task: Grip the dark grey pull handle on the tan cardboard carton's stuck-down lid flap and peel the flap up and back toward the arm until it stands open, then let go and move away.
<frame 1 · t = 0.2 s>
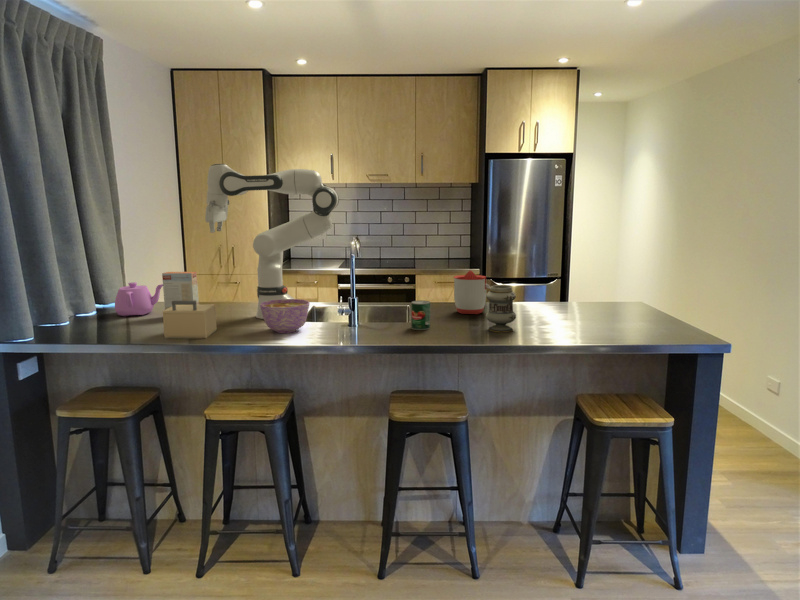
hand: (215, 231, 261), 39 cm above the countertop, tool pointing down, fingers open, 8 cm apart
canned tomato: (420, 328, 242), on the countertop
apothecary jar: (500, 330, 238), on the countertop
citrus juicer: (471, 312, 275), on the countertop
bowl of food: (286, 331, 238), on the countertop
carton: (191, 334, 233), on the countertop
cracker box: (182, 317, 267), on the countertop
carton flap: (189, 303, 231), point 12 cm above the countertop, hinge at 0.0°
teapot: (136, 314, 276), on the countertop
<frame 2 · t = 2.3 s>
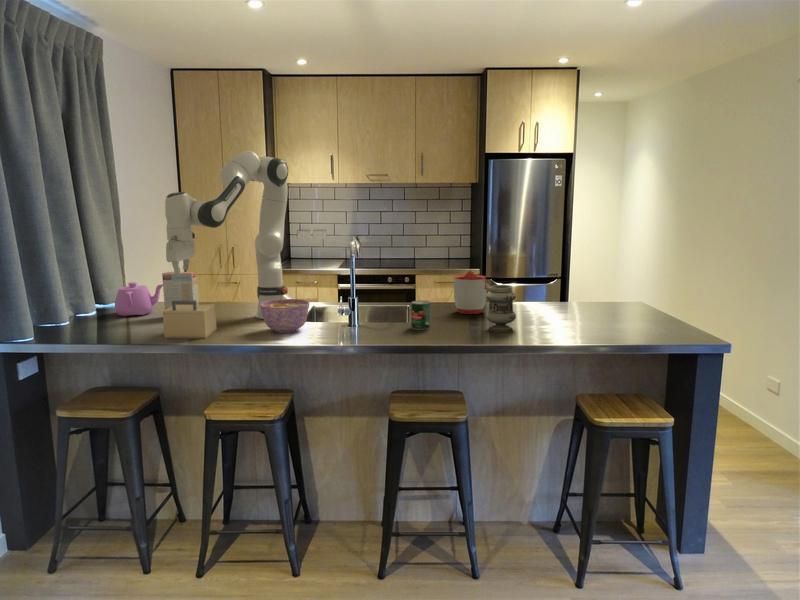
hand: (181, 271, 223), 26 cm above the countertop, tool pointing down, fingers open, 8 cm apart
nothing on the countertop moved.
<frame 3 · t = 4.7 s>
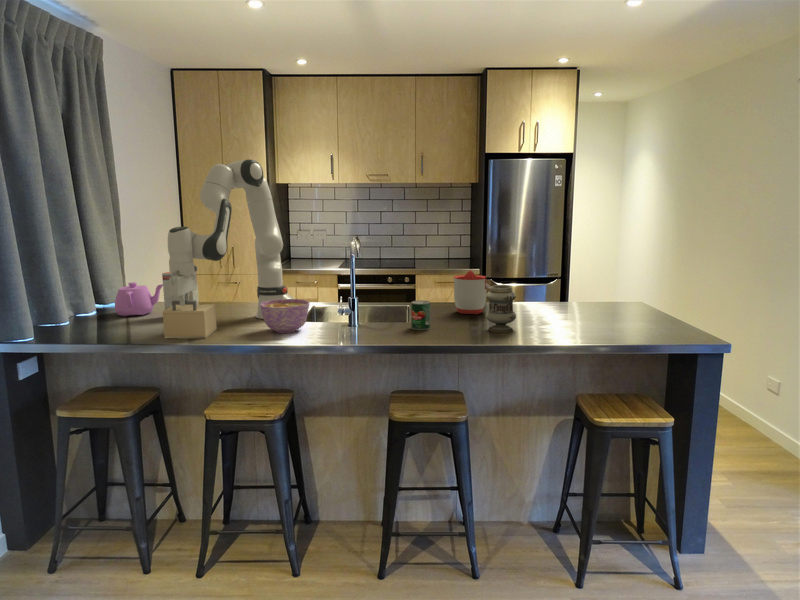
hand: (184, 304, 225), 13 cm above the countertop, tool pointing down, fingers closed on carton flap, 2 cm apart
carton flap: (189, 303, 231), point 12 cm above the countertop, hinge at 0.0°, touching gripper
everything else where it was.
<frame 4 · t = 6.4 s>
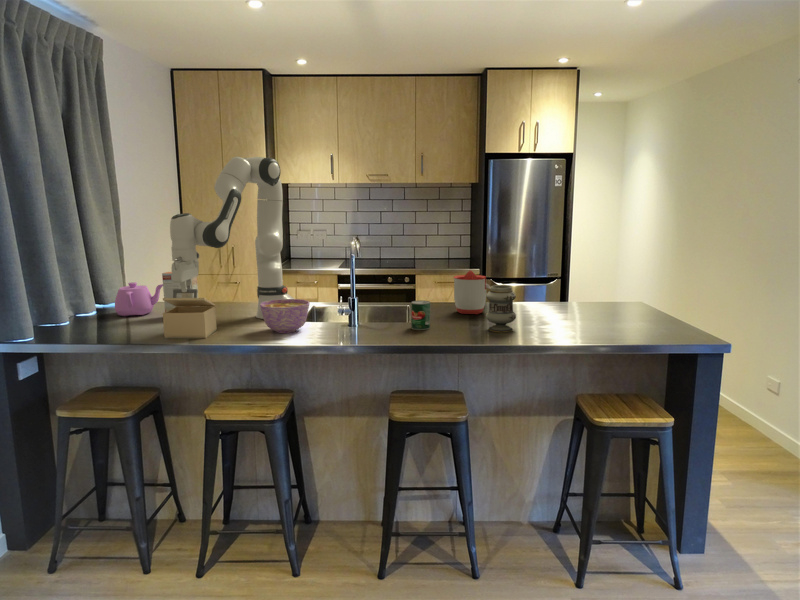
hand: (186, 291, 228), 18 cm above the countertop, tool pointing down, fingers open, 3 cm apart
carton flap: (190, 297, 232), point 15 cm above the countertop, hinge at 20.7°, touching gripper
everything else where it was.
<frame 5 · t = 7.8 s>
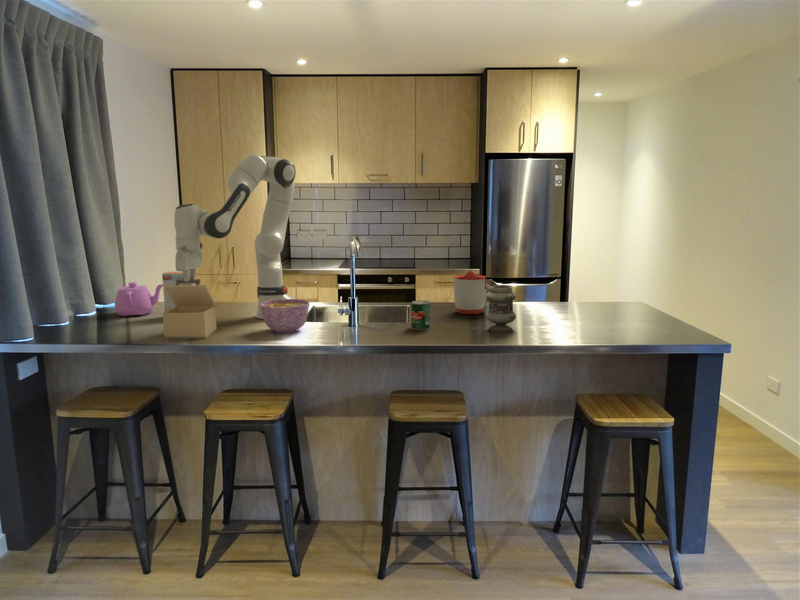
hand: (189, 280, 231), 22 cm above the countertop, tool pointing down, fingers open, 4 cm apart
carton flap: (191, 292, 234), point 17 cm above the countertop, hinge at 43.2°, touching gripper
everything else where it was.
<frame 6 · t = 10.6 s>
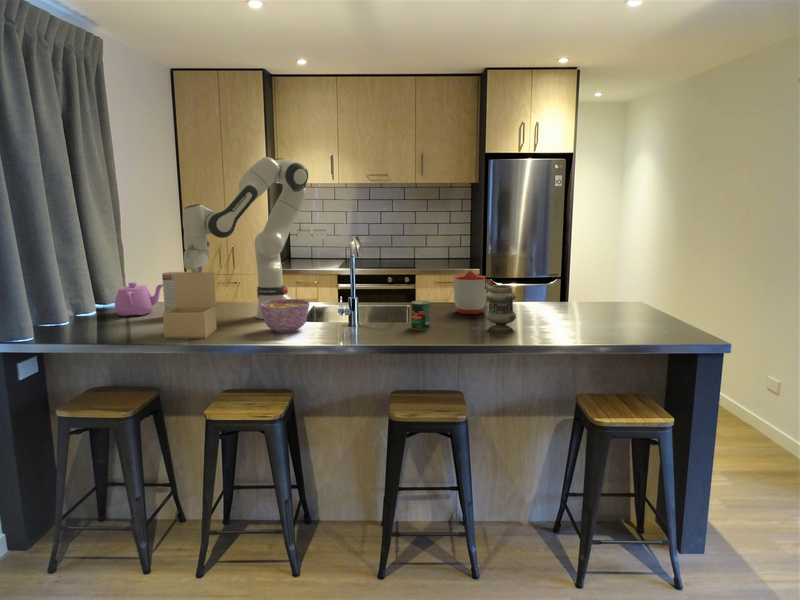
hand: (197, 277, 241), 21 cm above the countertop, tool pointing down, fingers open, 3 cm apart
carton flap: (196, 288, 240), point 17 cm above the countertop, hinge at 91.9°, touching gripper
everything else where it was.
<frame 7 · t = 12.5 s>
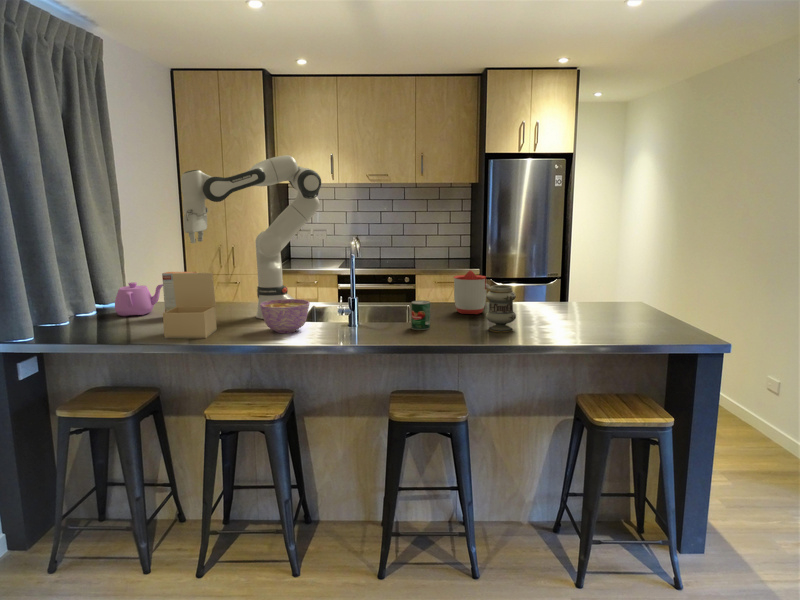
hand: (196, 242, 247), 35 cm above the countertop, tool pointing down, fingers open, 8 cm apart
carton flap: (195, 288, 239), point 17 cm above the countertop, hinge at 83.4°
everything else where it was.
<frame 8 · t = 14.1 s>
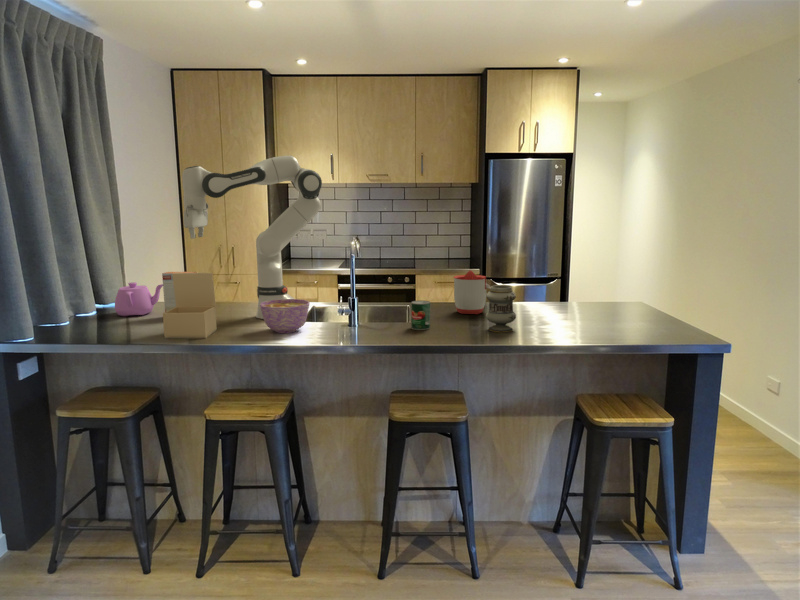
hand: (197, 237, 249), 37 cm above the countertop, tool pointing down, fingers open, 8 cm apart
nothing on the countertop moved.
at the end: carton flap at +83° (first picture: +0°); the gripper is holding nothing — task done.
